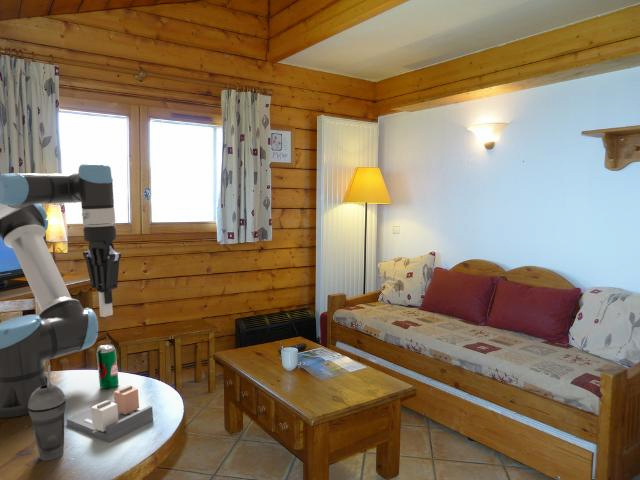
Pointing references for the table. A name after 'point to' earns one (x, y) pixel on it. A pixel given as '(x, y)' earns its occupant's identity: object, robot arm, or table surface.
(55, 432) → the beverage cup
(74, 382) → the table surface
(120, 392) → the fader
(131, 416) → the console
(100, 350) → the soda can
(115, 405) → the block
